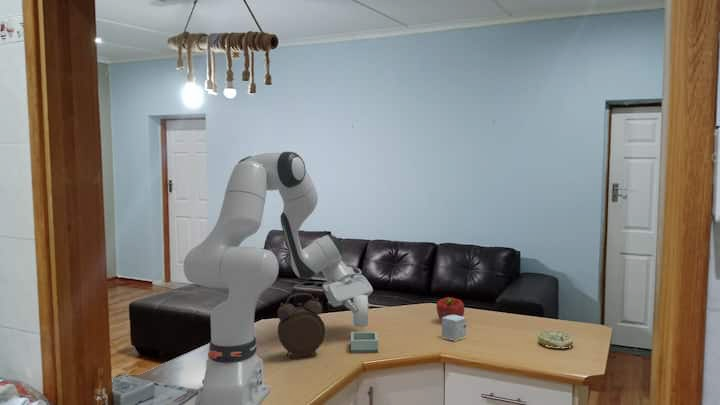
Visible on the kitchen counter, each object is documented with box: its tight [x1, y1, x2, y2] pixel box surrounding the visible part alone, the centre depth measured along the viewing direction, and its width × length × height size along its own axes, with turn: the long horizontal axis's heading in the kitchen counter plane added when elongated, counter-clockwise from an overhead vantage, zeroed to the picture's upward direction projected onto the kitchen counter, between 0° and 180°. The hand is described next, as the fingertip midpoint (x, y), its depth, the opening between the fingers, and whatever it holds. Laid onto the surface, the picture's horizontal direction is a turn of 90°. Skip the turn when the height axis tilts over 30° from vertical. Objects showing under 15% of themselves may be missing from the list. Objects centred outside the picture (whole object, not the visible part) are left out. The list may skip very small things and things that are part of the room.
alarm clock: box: [276, 292, 326, 359], centre depth 165 cm, size 14×7×20 cm, turn 111°
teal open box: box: [350, 331, 379, 354], centre depth 172 cm, size 9×9×4 cm
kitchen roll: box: [352, 295, 369, 328], centre depth 181 cm, size 5×5×10 cm
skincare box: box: [441, 314, 467, 340], centre depth 181 cm, size 6×6×7 cm
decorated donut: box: [537, 330, 574, 348], centre depth 173 cm, size 10×11×4 cm
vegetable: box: [436, 296, 465, 322], centre depth 198 cm, size 11×10×10 cm
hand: (362, 309), depth 180 cm, fingers closed on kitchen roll, 5 cm apart
